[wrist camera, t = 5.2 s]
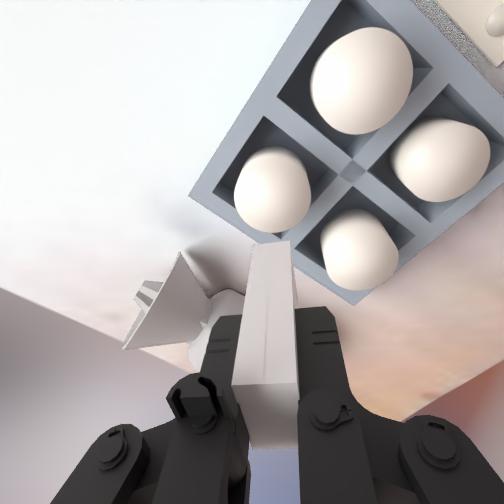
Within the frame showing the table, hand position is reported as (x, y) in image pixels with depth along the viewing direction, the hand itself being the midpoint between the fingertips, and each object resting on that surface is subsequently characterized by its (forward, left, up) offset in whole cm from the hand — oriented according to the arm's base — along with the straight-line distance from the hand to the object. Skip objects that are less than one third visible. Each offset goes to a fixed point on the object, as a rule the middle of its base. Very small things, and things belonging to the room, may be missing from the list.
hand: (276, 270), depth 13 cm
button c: (0, +8, -13) cm, 15 cm away
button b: (+8, 0, -13) cm, 15 cm away
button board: (+4, +4, -16) cm, 17 cm away
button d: (0, 0, -13) cm, 13 cm away
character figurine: (+6, -17, -16) cm, 24 cm away
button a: (+8, +8, -15) cm, 19 cm away
